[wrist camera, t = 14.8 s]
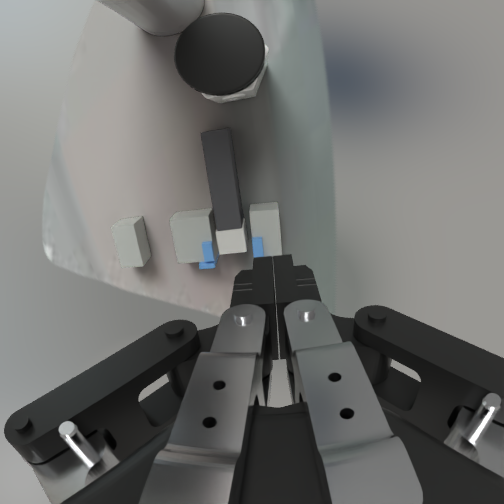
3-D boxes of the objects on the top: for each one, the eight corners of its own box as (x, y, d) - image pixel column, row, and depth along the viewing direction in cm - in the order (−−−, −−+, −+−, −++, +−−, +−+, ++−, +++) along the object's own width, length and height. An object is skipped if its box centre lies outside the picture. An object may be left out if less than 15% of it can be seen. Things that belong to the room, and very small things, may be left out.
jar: (202, 109, 37) (177, 105, 26) (190, 50, 34) (162, 26, 23) (273, 95, 36) (278, 84, 25) (261, 36, 33) (260, 4, 22)
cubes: (120, 219, 43) (107, 229, 39) (277, 201, 41) (278, 211, 37) (131, 261, 45) (120, 274, 41) (280, 248, 44) (282, 262, 40)
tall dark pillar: (205, 131, 38) (198, 133, 34) (231, 127, 38) (228, 128, 34) (223, 242, 44) (219, 254, 40) (248, 239, 43) (246, 251, 40)
